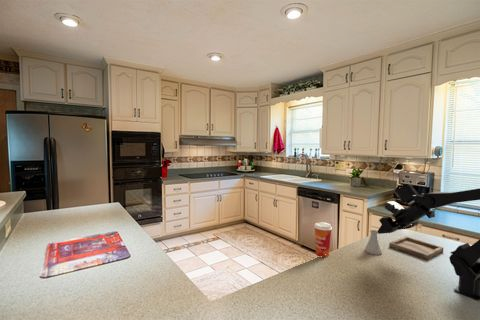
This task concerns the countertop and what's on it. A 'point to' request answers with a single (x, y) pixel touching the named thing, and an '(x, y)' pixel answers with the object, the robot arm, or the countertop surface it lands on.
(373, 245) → the flask
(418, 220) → the robot arm
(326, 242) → the paper cup
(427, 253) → the walnut tray
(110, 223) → the countertop surface
